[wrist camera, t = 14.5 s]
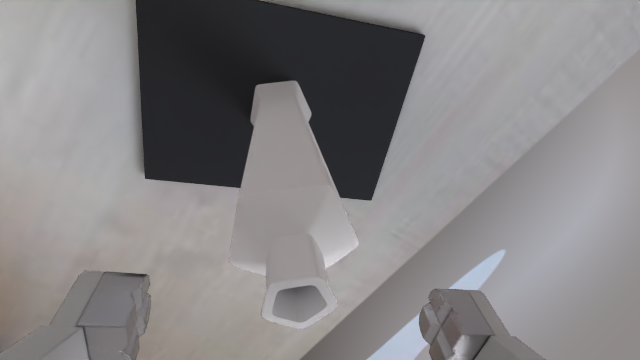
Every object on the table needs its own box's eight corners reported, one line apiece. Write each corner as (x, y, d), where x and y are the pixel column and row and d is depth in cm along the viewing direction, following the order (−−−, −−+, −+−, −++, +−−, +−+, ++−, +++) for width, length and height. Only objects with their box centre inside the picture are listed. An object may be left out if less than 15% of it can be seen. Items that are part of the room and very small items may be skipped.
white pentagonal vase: (227, 92, 22) (174, 284, 9) (293, 61, 21) (336, 219, 9) (262, 153, 24) (259, 372, 11) (322, 127, 24) (389, 324, 11)
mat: (422, 34, 22) (425, 35, 21) (369, 197, 28) (371, 200, 27) (137, -25, 18) (134, -25, 18) (147, 175, 24) (144, 178, 24)
